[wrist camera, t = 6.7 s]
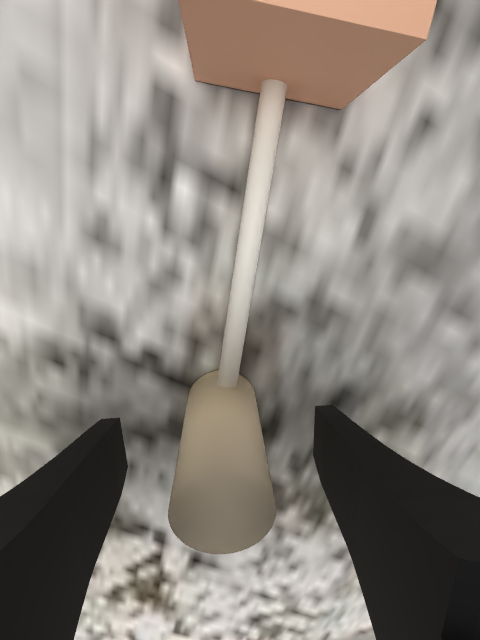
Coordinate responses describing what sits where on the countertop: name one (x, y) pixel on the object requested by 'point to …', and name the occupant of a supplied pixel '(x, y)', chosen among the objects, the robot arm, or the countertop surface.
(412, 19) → the cord block
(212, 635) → the countertop surface
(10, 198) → the countertop surface
